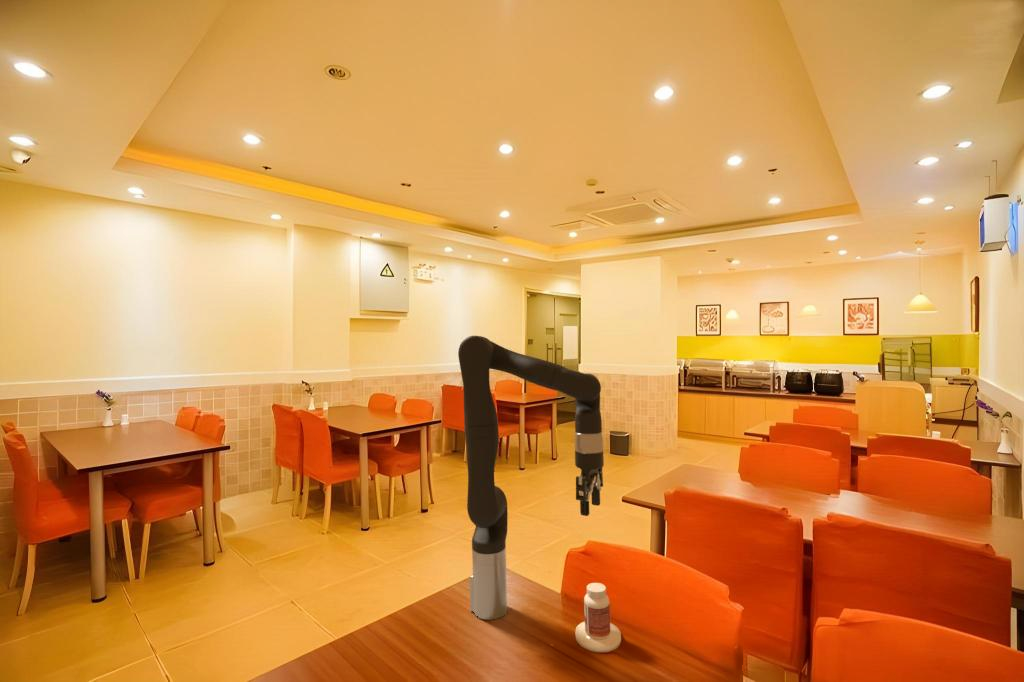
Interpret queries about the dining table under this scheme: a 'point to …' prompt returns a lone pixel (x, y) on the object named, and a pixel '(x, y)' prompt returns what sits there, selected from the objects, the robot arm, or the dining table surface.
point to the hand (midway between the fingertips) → (590, 509)
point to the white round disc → (598, 644)
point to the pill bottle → (597, 611)
